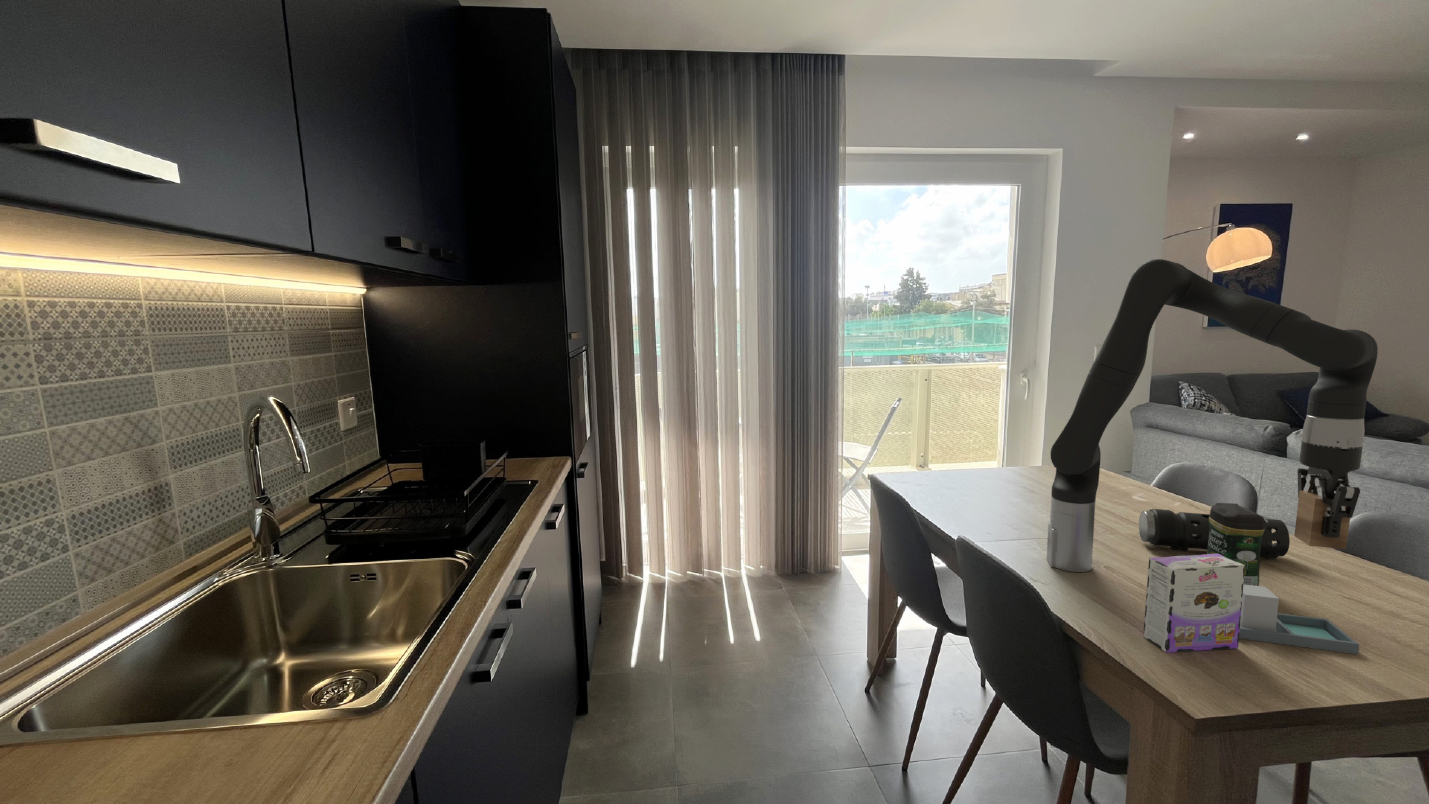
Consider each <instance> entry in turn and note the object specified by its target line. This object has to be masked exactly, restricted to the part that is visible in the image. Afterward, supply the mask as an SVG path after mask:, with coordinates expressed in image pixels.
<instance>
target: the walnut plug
mask: <svg viewBox="0 0 1429 804" xmlns="http://www.w3.org/2000/svg"><path fill="white" fill-rule="evenodd" d="M1326 498H1327V499H1333V500H1334V498H1328V497H1326ZM1323 507H1324V504H1323V503H1321V499H1320V498H1318V494H1316V493H1313V491H1311V492H1306V491H1300V492H1299V498H1298V502H1297V510H1296V518H1295V526H1294V527H1295V528H1294V535H1293V536H1294V537H1295V538H1296V539H1298V540H1299V541H1301V542H1302V543H1304V544H1306V545H1307V546H1309V547H1318V548H1328V549H1329V548H1331V549H1340V550H1346V549H1347V547H1348V546H1347V544H1348V538H1349V531H1350V530H1349V529H1350V522H1351V518H1342V519H1341V527H1340V535H1339V537H1337V538H1333V537H1325V536H1323V535H1322V534H1321V529H1322V521H1323V516H1324V514H1323ZM1331 507H1332V504H1330V510H1331ZM1346 507H1347V506H1345V510H1346Z"/></svg>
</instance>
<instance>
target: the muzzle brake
mask: <svg viewBox="0 0 1429 804" xmlns="http://www.w3.org/2000/svg"><path fill="white" fill-rule="evenodd" d="M1209 515H1210V513H1196V512H1195V513H1194V512H1187V511H1185V512H1184V511H1179V512H1177V513H1175V512H1174V511H1172V510H1170V509H1162V508H1161V509H1158V508H1151V509H1149V510H1142V511H1140V513H1139V518H1138V532H1139V537H1140V540H1141V541H1142V542H1145V543H1149V544H1151V545H1152V546H1157V547H1158V546H1159V547H1169V549H1170V550H1174V551H1184V552H1185V551H1186V552H1187V551H1188V550H1189V549H1193V550H1194V549H1195V550H1201V551H1202V550H1203V551H1207V550H1208V542H1209V531H1210V526H1209ZM1264 524H1265V528H1264V533H1263V536H1262V539H1261V547H1260V559H1262V558H1263V559H1274V560H1276V559H1278V557H1280V558H1282V557H1285V555H1287V554H1288V552H1289V549H1290V541H1291V540H1290V532H1289V529H1288V527H1287V525H1286V524H1285V523H1284V521H1283V520H1280V519H1274V518H1273V519H1272V518H1264ZM1273 530H1275V531H1273ZM1273 542H1274V543H1273Z"/></svg>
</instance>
